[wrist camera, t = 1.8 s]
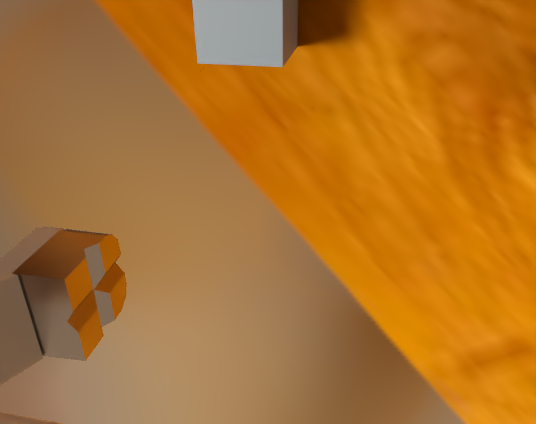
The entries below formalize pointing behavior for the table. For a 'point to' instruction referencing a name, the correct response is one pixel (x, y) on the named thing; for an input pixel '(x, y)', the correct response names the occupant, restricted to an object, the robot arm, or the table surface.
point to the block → (245, 31)
